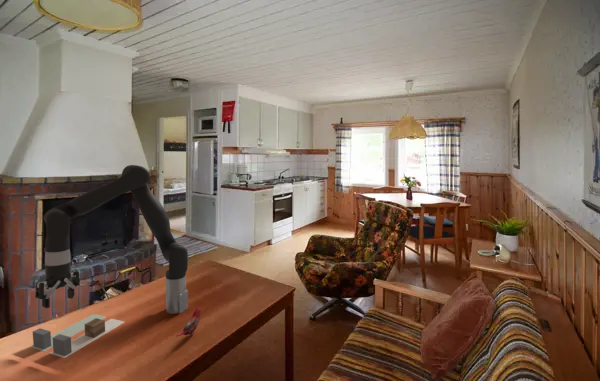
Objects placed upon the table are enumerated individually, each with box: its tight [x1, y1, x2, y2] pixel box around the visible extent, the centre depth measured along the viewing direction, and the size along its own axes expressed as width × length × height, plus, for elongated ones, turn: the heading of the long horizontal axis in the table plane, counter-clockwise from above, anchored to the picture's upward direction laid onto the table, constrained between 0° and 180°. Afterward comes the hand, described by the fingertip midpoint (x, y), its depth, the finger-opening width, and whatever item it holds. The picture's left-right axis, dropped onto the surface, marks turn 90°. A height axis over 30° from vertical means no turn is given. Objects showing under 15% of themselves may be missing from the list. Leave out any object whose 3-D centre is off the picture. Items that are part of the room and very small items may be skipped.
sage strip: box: [29, 313, 107, 352], centre depth 127 cm, size 8×26×7 cm, turn 162°
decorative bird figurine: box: [176, 307, 202, 338], centre depth 126 cm, size 3×18×10 cm, turn 167°
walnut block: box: [84, 318, 106, 338], centre depth 126 cm, size 5×5×5 cm
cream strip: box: [49, 318, 125, 359], centre depth 124 cm, size 8×26×7 cm, turn 162°
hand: (59, 302), depth 115 cm, fingers open, 8 cm apart
